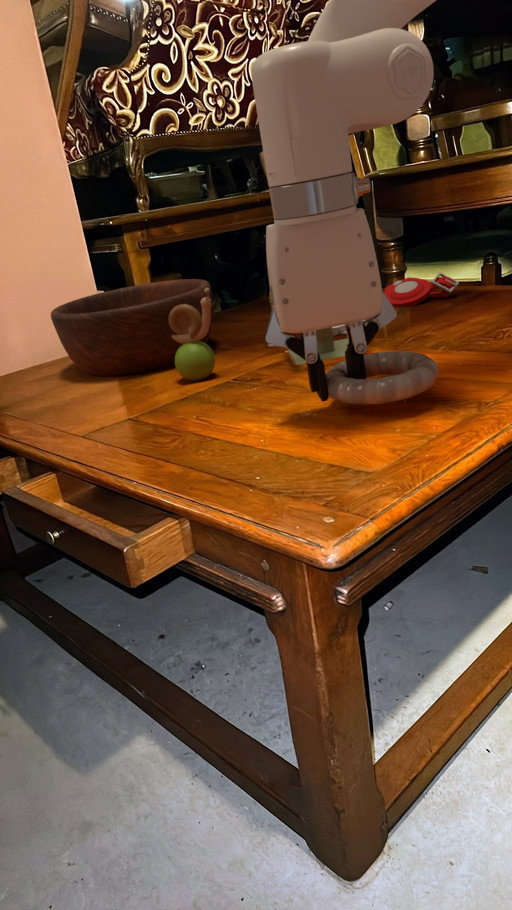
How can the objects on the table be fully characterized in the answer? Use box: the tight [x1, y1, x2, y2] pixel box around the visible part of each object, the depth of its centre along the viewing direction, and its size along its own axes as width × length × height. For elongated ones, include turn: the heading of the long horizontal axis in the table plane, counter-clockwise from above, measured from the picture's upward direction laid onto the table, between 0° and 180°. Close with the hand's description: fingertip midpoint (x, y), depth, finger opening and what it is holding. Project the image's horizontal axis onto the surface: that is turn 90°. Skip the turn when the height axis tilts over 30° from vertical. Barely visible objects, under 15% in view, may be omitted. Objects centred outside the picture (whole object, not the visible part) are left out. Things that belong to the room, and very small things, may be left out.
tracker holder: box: [383, 271, 460, 308], centre depth 119 cm, size 12×4×10 cm
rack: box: [287, 327, 366, 366], centre depth 93 cm, size 9×9×5 cm
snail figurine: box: [169, 288, 216, 382], centre depth 92 cm, size 5×6×12 cm
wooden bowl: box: [50, 278, 213, 377], centre depth 110 cm, size 25×25×10 cm
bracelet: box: [325, 350, 440, 405], centre depth 69 cm, size 11×11×2 cm
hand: (339, 392), depth 69 cm, fingers closed on bracelet, 2 cm apart
